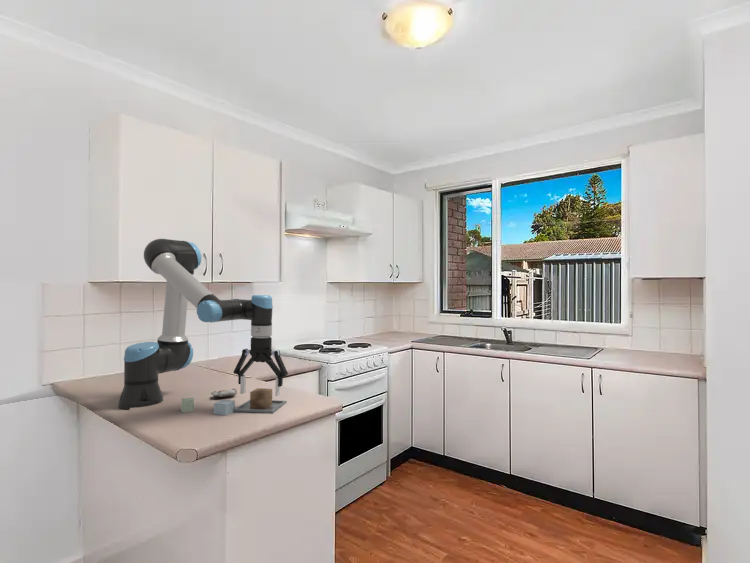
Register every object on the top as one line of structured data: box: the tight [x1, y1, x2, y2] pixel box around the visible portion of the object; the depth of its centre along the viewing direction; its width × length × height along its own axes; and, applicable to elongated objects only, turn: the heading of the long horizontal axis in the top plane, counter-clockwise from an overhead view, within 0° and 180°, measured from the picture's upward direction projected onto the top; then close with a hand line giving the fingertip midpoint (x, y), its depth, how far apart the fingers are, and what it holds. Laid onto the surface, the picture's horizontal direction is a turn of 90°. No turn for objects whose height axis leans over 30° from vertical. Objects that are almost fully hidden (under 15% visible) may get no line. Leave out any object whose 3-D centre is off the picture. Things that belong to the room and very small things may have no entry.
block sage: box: [181, 397, 195, 413], centre depth 159 cm, size 4×4×4 cm
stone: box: [210, 388, 238, 398], centre depth 177 cm, size 10×7×3 cm
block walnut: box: [249, 387, 273, 409], centre depth 162 cm, size 6×6×6 cm
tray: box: [233, 399, 287, 415], centre depth 162 cm, size 15×14×1 cm
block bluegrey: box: [213, 399, 236, 416], centre depth 156 cm, size 5×5×4 cm
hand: (260, 394), depth 162 cm, fingers open, 13 cm apart
